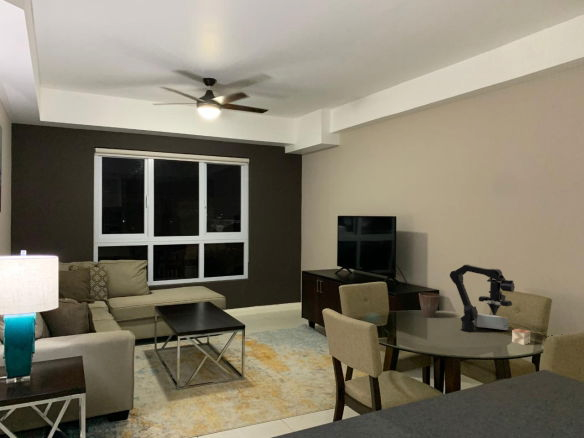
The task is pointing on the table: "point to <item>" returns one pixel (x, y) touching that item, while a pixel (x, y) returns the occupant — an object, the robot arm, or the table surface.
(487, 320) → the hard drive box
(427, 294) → the plant pot
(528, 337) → the birch block
